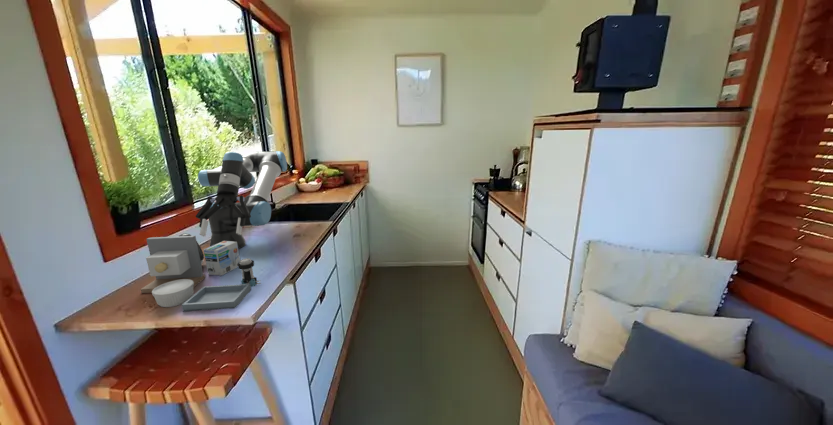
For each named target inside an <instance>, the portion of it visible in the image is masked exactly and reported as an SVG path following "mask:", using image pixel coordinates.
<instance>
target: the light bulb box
mask: <svg viewBox="0 0 833 425" xmlns="http://www.w3.org/2000/svg"><path fill="white" fill-rule="evenodd" d="M202 251H203V254H204V259H205V265H206V269H207V275H210V276H212V275H213V276H224V275H225V274H228V273H229V272H232V271H233V270H235V269H237V268H239V267H238V266H237V264H238V263H239V262H240V260H241V258H240V252H239V249H238V245H237V242H232V241H222V242H220V243H218V244H215V245H213V246H211V247H210V246H208V247H206V248H204V249H203V250H202Z"/></svg>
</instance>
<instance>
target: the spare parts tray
mask: <svg viewBox="0 0 833 425" xmlns="http://www.w3.org/2000/svg"><path fill="white" fill-rule="evenodd" d="M251 291H252V287H251V286H250V284H225V285H223V284H222V285H209V286H206V285H205V286H202V287H201V288H200V289H198V291H197V292H195V293H193V296H192V297H191V298H189V299H188V300H187V301H186V302H184V303H183V304H181V308H182V312H185V313H186V312H198V311H199V312H200V311H215V310H216V311H217V310H218V311H219V310H233V309H236V308H237V307H238V306H239V305H240V304H241V302H242V301H243V300H244V299H245V298H246V296H248V295H249V293H250V292H251Z"/></svg>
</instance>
